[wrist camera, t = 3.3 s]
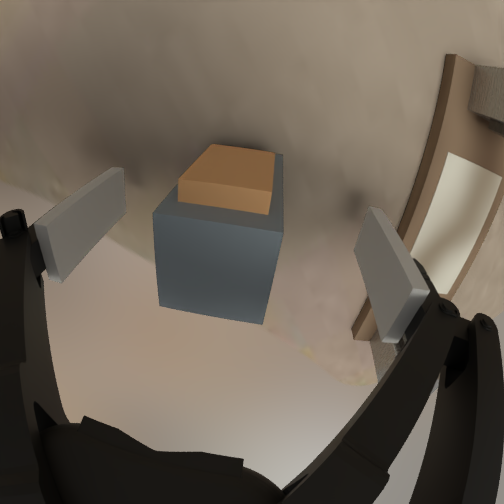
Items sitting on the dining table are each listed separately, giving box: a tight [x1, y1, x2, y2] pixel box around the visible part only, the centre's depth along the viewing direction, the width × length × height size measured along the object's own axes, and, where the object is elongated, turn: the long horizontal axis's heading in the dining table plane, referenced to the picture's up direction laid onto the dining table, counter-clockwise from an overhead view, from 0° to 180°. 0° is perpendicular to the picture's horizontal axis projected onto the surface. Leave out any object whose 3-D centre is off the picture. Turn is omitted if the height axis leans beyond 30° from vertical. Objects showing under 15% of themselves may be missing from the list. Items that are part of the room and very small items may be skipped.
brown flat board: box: [352, 54, 504, 341], centre depth 17 cm, size 7×22×1 cm, turn 172°
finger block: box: [153, 144, 283, 325], centre depth 13 cm, size 4×5×9 cm
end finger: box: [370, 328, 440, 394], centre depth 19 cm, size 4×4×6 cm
